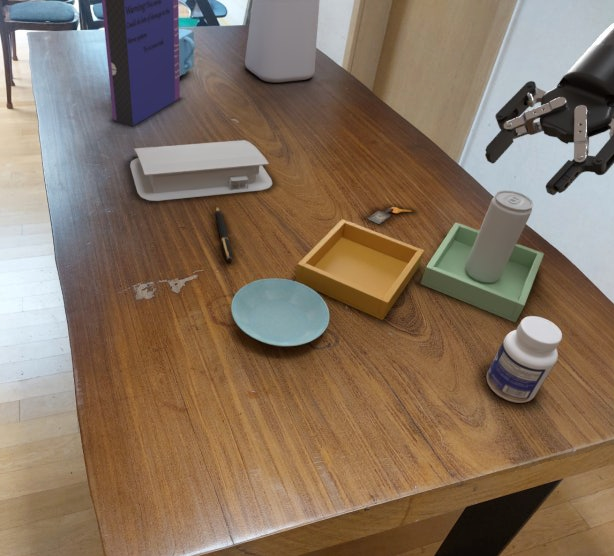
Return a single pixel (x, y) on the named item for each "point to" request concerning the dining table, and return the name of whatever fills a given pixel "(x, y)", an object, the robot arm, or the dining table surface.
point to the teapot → (186, 50)
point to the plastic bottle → (282, 39)
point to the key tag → (385, 215)
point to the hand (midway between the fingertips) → (517, 174)
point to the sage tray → (488, 296)
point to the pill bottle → (524, 359)
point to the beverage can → (498, 235)
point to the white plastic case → (199, 170)
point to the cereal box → (142, 56)
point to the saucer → (280, 312)
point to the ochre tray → (360, 268)
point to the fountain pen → (223, 236)
